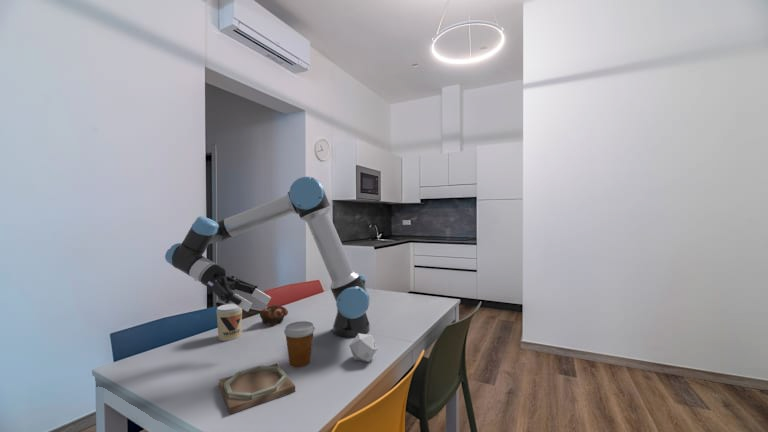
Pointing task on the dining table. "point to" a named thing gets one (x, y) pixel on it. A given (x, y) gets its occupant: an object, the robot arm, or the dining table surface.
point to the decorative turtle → (273, 314)
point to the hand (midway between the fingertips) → (260, 304)
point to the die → (363, 347)
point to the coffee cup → (229, 322)
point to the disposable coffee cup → (299, 342)
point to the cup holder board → (255, 387)
